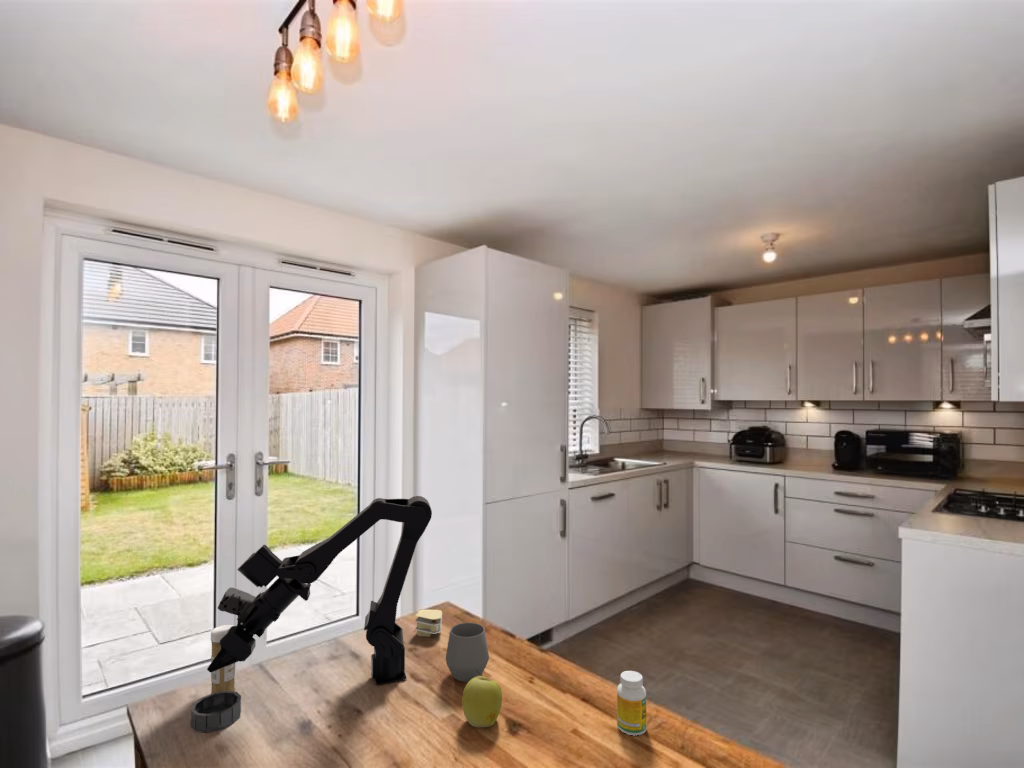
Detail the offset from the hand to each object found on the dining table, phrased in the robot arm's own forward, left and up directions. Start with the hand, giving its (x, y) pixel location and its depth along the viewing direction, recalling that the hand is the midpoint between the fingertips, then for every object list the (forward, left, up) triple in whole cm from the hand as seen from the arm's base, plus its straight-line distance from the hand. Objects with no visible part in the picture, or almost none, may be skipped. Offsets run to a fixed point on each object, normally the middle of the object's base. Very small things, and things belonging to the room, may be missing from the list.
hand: (216, 659), depth 111 cm
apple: (-48, +28, -7) cm, 56 cm away
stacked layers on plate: (-47, -12, -8) cm, 49 cm away
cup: (-50, +11, -7) cm, 52 cm away
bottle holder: (-1, +9, -7) cm, 12 cm away
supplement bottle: (-73, +40, -7) cm, 84 cm away
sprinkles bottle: (-1, 0, -7) cm, 8 cm away
